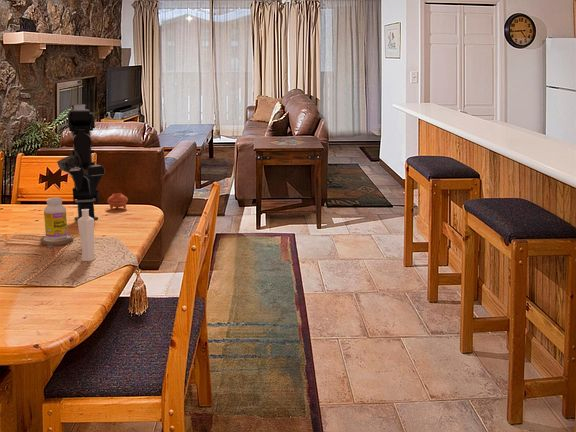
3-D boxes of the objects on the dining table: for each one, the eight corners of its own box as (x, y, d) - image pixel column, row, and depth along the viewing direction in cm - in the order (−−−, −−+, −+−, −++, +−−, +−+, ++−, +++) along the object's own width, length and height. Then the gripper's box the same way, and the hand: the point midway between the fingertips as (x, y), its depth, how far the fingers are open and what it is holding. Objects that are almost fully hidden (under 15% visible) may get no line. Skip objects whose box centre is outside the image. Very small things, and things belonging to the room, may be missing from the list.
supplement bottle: (53, 241, 203) (50, 201, 200) (41, 238, 206) (38, 199, 204) (72, 237, 208) (69, 198, 205) (60, 233, 212) (57, 195, 209)
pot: (116, 211, 249) (112, 194, 249) (105, 212, 255) (102, 196, 254) (133, 207, 255) (130, 190, 255) (122, 208, 261) (119, 192, 260)
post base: (48, 236, 213) (48, 232, 213) (78, 236, 214) (78, 232, 213) (33, 247, 201) (33, 243, 201) (65, 247, 201) (65, 243, 201)
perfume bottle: (89, 256, 192) (86, 207, 189) (99, 258, 190) (96, 209, 186) (76, 259, 189) (73, 210, 185) (86, 262, 186) (83, 212, 183)
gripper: (46, 146, 217) (50, 191, 221) (73, 152, 204) (76, 200, 208) (77, 144, 225) (80, 187, 229) (104, 149, 212) (107, 195, 216)
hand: (85, 192), depth 220 cm, fingers open, 9 cm apart
